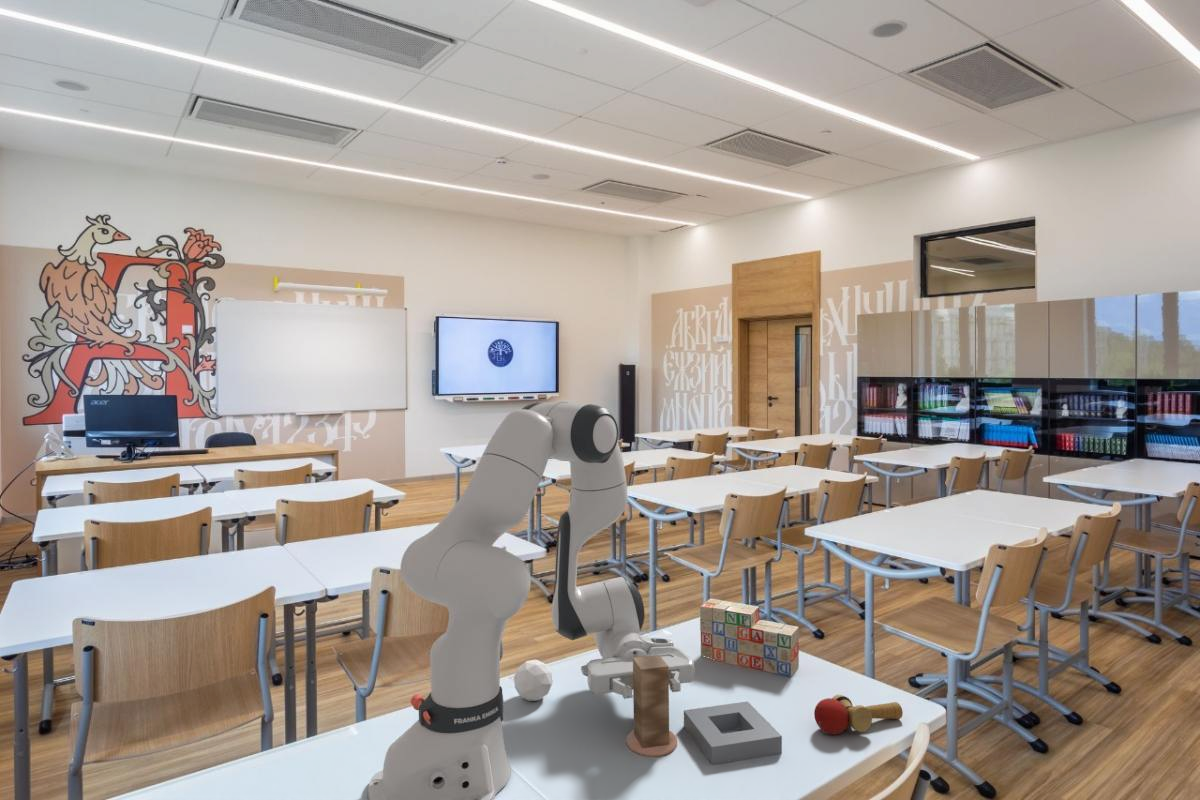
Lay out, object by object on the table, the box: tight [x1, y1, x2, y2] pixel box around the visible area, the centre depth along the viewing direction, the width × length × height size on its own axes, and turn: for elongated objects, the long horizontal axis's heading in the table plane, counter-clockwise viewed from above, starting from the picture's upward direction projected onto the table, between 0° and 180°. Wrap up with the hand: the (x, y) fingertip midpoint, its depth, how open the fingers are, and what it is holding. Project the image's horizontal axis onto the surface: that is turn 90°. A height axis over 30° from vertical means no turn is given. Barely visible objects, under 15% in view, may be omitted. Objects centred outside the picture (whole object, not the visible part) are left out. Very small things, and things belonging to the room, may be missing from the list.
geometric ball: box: [513, 659, 553, 702], centre depth 139 cm, size 8×8×8 cm
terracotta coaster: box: [626, 729, 678, 758], centre depth 122 cm, size 9×9×1 cm
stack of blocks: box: [699, 598, 800, 678], centre depth 155 cm, size 21×6×12 cm, turn 57°
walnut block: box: [632, 655, 670, 749], centre depth 121 cm, size 5×5×14 cm
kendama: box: [813, 694, 904, 735], centre depth 127 cm, size 8×6×18 cm
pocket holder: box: [683, 701, 783, 765], centre depth 122 cm, size 13×13×3 cm
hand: (652, 690), depth 120 cm, fingers open, 8 cm apart
